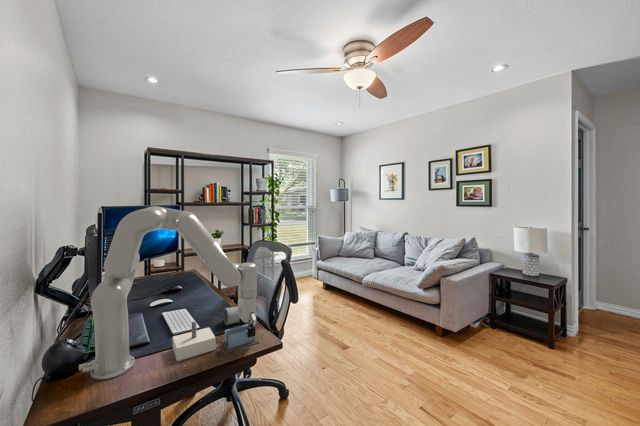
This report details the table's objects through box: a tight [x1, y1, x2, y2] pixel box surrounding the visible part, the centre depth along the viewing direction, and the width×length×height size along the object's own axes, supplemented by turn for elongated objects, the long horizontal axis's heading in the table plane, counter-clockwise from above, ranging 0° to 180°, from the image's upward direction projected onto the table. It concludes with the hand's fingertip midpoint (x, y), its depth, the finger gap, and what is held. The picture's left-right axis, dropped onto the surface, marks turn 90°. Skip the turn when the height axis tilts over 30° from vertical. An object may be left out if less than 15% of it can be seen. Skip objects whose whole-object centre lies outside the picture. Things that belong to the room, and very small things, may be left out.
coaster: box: [220, 336, 260, 353], centre depth 117 cm, size 13×10×1 cm
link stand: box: [172, 321, 217, 362], centre depth 111 cm, size 14×10×11 cm
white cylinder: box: [222, 306, 240, 326], centre depth 135 cm, size 11×8×8 cm
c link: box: [224, 323, 256, 348], centre depth 117 cm, size 11×6×5 cm, turn 126°
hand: (246, 331), depth 118 cm, fingers open, 9 cm apart
